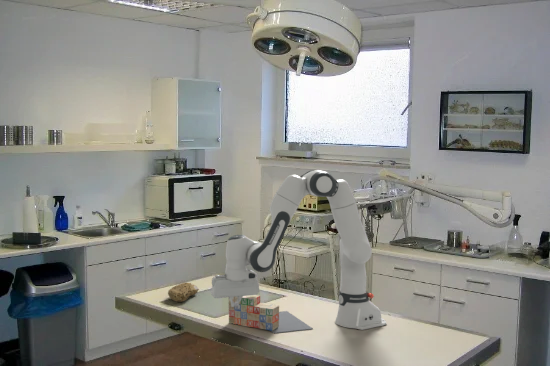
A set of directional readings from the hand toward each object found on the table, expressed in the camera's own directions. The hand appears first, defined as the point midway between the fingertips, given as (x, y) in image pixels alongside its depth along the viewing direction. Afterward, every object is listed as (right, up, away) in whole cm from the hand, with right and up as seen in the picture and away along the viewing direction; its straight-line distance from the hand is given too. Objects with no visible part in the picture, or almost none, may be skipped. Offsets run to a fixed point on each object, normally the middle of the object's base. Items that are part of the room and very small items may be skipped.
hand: (235, 306), depth 260 cm
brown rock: (-28, -5, +42) cm, 51 cm away
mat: (+19, -9, +10) cm, 23 cm away
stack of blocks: (+8, -9, +4) cm, 12 cm away
